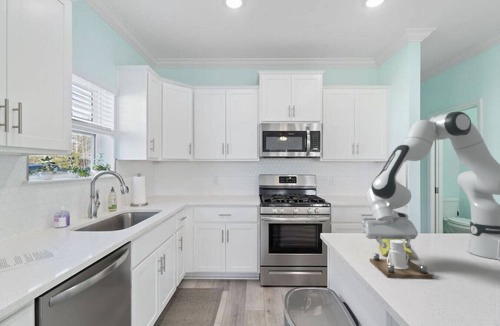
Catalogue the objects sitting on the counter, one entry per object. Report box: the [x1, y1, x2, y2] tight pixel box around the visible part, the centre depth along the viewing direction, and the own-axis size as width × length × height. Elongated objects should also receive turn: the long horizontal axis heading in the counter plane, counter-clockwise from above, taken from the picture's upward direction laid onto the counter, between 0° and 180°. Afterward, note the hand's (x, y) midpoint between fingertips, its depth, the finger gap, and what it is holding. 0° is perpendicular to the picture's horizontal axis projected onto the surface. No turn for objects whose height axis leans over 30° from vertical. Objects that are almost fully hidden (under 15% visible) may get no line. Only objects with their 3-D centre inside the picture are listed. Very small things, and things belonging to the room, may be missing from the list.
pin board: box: [369, 252, 434, 279], centre depth 101 cm, size 16×16×4 cm
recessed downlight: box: [386, 239, 410, 269], centre depth 101 cm, size 8×7×10 cm
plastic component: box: [378, 239, 413, 260], centre depth 122 cm, size 20×7×10 cm
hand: (396, 247), depth 102 cm, fingers open, 8 cm apart
